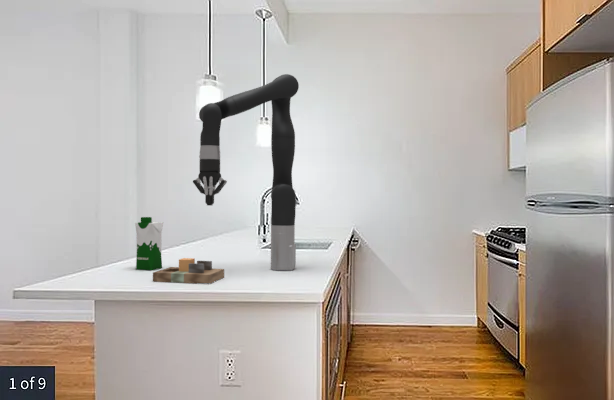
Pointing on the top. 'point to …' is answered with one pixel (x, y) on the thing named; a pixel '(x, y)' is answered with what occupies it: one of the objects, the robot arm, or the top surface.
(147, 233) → the milk carton
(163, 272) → the wooden tray
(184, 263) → the orange block
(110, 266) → the top surface
